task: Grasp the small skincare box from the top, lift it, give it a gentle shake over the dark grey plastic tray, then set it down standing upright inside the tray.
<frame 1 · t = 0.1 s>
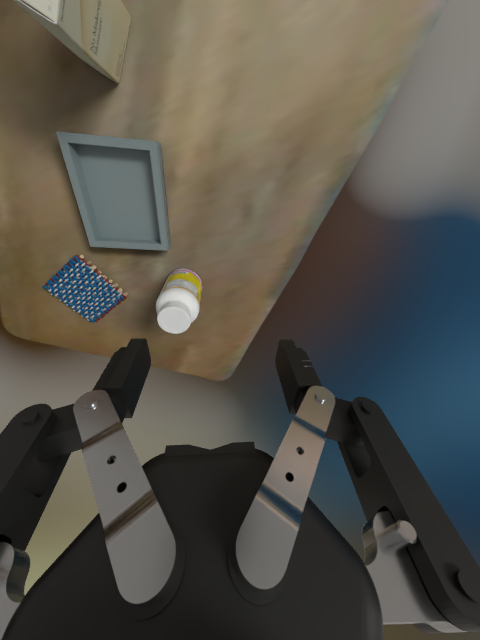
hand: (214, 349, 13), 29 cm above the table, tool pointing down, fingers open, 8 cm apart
woven mat: (90, 288, 42), on the table
supplement bottle: (185, 283, 42), on the table
skincare box: (106, 38, 25), on the table
tray: (126, 197, 33), on the table
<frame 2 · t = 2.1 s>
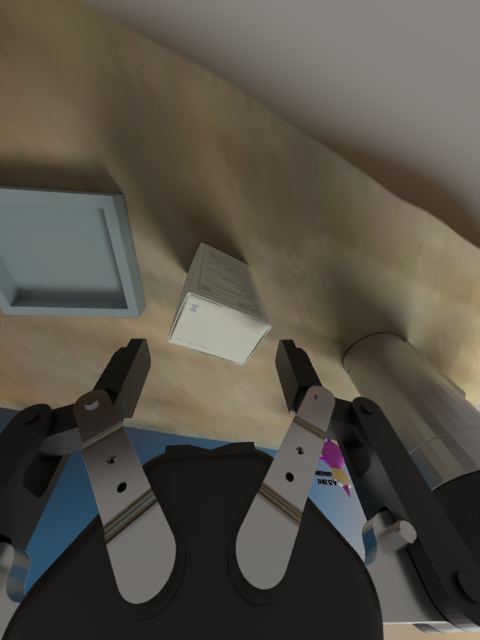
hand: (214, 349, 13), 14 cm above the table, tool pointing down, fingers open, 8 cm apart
wizard figurine: (320, 423, 44), on the table
skincare box: (219, 269, 25), on the table
tray: (67, 254, 23), on the table
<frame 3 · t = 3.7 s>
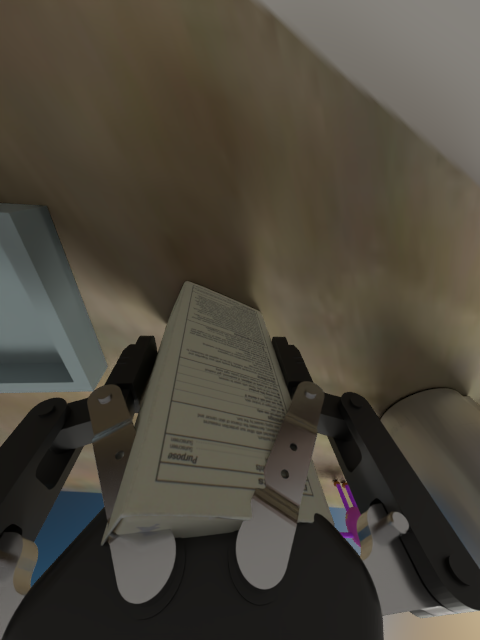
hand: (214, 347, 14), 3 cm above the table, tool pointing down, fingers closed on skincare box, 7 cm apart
wizard figurine: (341, 479, 36), on the table
skincare box: (216, 316, 16), on the table, touching gripper
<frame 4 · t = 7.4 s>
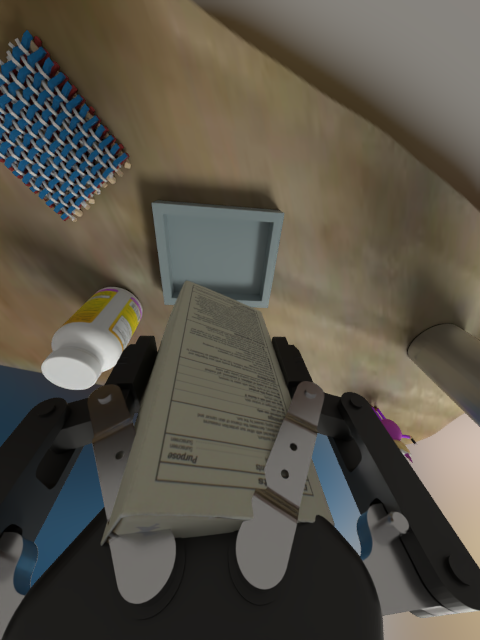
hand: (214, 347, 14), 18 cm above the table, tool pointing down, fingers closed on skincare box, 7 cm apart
woven mat: (60, 146, 22), on the table
wizard figurine: (374, 405, 51), on the table
supplement bottle: (120, 305, 31), on the table
skincare box: (216, 316, 16), point 14 cm above the table, touching gripper
tray: (218, 256, 28), on the table
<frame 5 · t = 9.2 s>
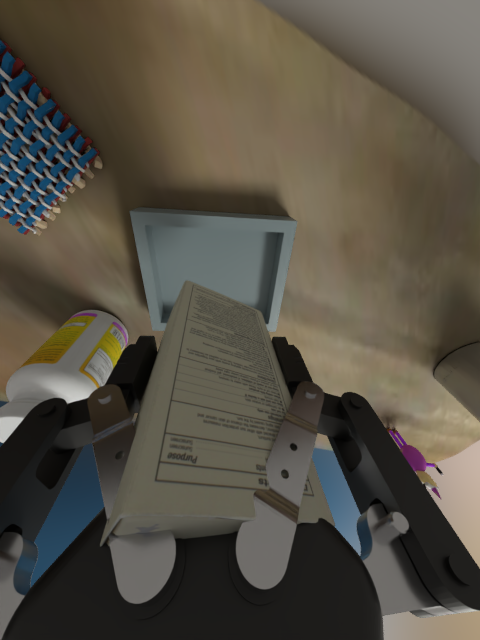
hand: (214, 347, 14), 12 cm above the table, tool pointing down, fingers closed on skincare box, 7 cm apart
woven mat: (12, 141, 17), on the table
wizard figurine: (392, 427, 46), on the table
supplement bottle: (102, 329, 27), on the table
skincare box: (216, 316, 16), point 9 cm above the table, touching gripper
tray: (216, 272, 24), on the table
when the fingers open (5 cm above the table, at t = 11.1 s): skincare box drops 1 cm, resting on tray.
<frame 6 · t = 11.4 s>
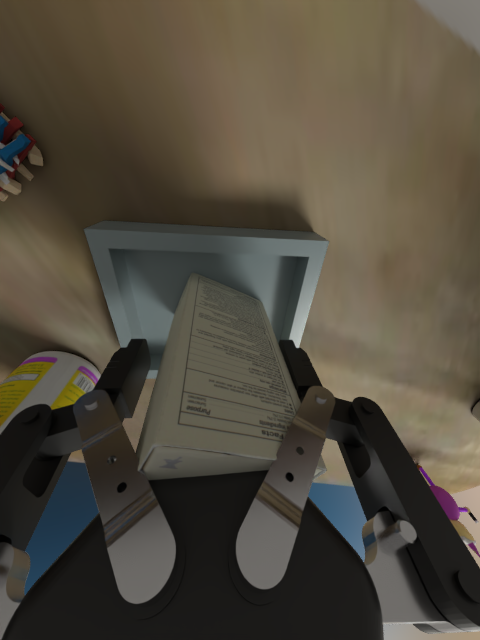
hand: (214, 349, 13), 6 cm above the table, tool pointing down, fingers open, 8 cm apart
wizard figurine: (415, 462, 40), on the table
supplement bottle: (69, 371, 21), on the table
skincare box: (220, 306, 18), resting on tray, touching gripper
tray: (214, 304, 18), on the table
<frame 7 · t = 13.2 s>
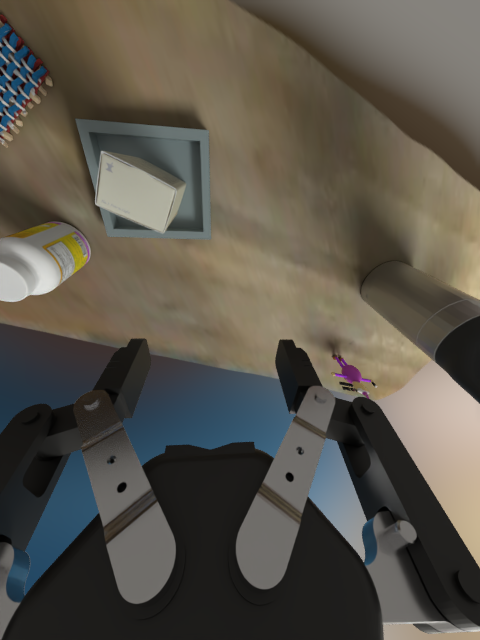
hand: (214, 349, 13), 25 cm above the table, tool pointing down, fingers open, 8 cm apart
wizard figurine: (338, 355, 52), on the table
supplement bottle: (68, 244, 32), on the table
skincare box: (160, 187, 29), resting on tray
tray: (157, 187, 29), on the table
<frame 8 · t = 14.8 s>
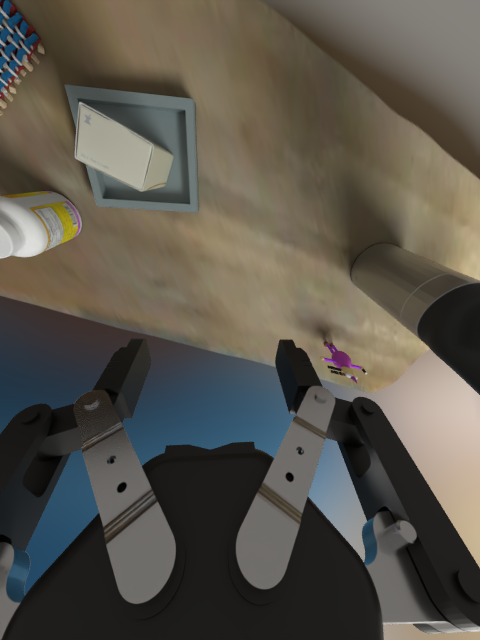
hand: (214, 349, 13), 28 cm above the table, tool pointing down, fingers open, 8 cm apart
wizard figurine: (329, 342, 52), on the table
supplement bottle: (60, 215, 33), on the table
skincare box: (149, 158, 30), resting on tray
tray: (146, 158, 30), on the table
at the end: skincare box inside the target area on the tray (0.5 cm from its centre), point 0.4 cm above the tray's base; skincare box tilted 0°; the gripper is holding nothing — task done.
